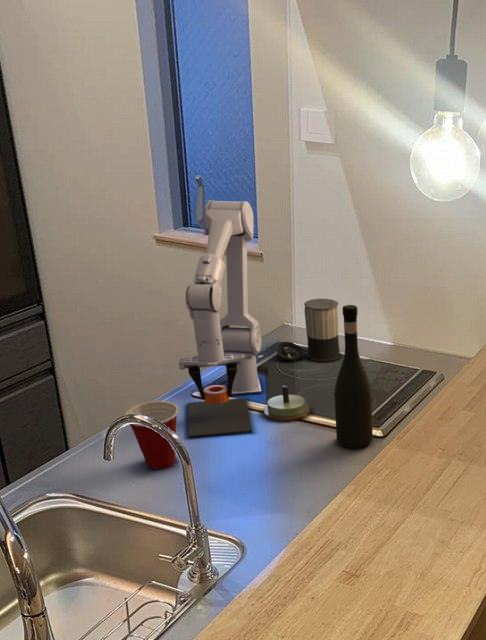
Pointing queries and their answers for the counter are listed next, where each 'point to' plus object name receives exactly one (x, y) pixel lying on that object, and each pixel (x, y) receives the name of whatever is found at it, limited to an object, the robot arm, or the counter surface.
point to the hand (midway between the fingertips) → (216, 396)
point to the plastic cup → (155, 433)
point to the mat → (218, 418)
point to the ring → (216, 394)
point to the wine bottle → (352, 390)
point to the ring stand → (286, 407)
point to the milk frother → (317, 332)
